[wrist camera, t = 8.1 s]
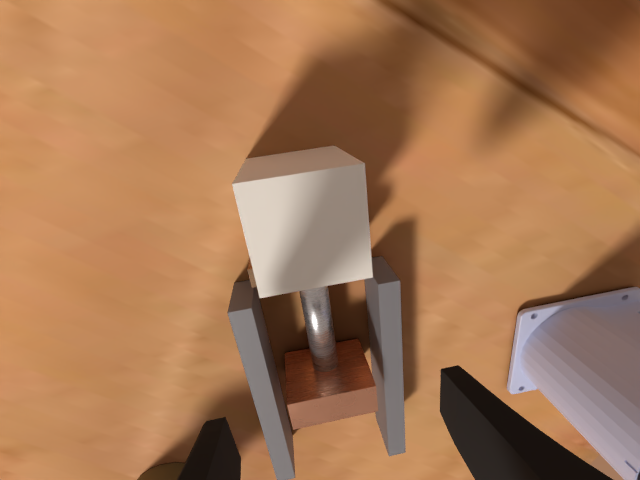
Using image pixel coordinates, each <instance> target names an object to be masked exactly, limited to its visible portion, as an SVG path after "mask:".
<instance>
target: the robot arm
mask: <svg viewBox="0 0 640 480" xmlns="http://www.w3.org/2000/svg"><path fill="white" fill-rule="evenodd" d="M535 389H539V390H540V391H541V392H542V394H543V395H544V396H545V397H546V398H547V399H548V400H549V401H550V402H551V403H552V404H553V405H554V406H555V407H556V408H557V409H558V410H559V411H560V413H561V414H562V415H563V416H564V417H565V418H566V419H567V420H568V421H569V422H570V423H571V424H572V425H573V426H574V427H575V428H576V429H577V430H578V431H579V433H580V434H581V435H582V436H583V437H584V438H585V439H586V440H587V441H588V442H589V443H590V444H591V445H592V446H593V447H594V448H595V449H596V450H597V451H598V453H599V454H600V455H601V456H602V457H603V458H604V459H605V460H606V461H607V462H608V463H609V464H610V465H611V466H612V467H613V468H614V469H615V470H616V471H617V472H618V474H619V475H620V476H622V478H623V479H624V480H640V288H638V287H631V288H626V289H621V290H616V291H611V292H606V293H601V294H596V295H591V296H586V297H581V298H576V299H571V300H566V301H561V302H556V303H551V304H546V305H541V306H536V307H531V308H526V309H523V310H521V311H520V312H519V313H518V316H517V322H516V329H515V336H514V342H513V349H512V356H511V363H510V369H509V376H508V383H507V390H508V391H509V392H510V393H511V394H517V393H521V392H526V391H530V390H535ZM440 413H441V415H442V417H443V420H444V422H445V424H446V426H447V429H448V431H449V433H450V435H451V437H452V439H453V441H454V444H455V445H456V447H457V449H458V451H459V453H460V454H461V456H462V458H463V459H464V461H465V463H466V465H467V466H468V468H469V470H470V472H471V473H472V475H473V477H474V478H475V480H613V479H611V478H610V477H608V476H606V475H605V474H603V473H602V472H600V471H599V470H597V469H596V468H594V467H593V466H591V465H589V464H588V463H586V462H585V461H583V460H582V459H580V458H579V457H577V456H576V455H574V454H573V453H571V452H570V451H569V450H567V449H566V448H564V447H563V446H561V445H560V444H559V443H557V442H556V441H554V440H553V439H551V438H550V437H549V436H547V435H546V434H544V433H543V432H542V431H540V430H539V429H538V428H536V427H535V426H534V425H532V424H531V423H530V422H528V421H527V420H526V419H524V418H523V417H522V416H520V415H519V414H518V413H517V412H515V411H514V410H513V409H511V408H510V407H509V406H508V405H506V404H505V403H504V402H502V401H501V400H500V399H499V398H498V397H496V396H495V395H494V394H493V393H491V392H490V391H489V390H488V389H486V388H485V387H484V386H483V385H482V384H480V383H479V382H478V381H477V380H476V379H474V378H473V377H472V376H471V375H470V374H468V373H467V372H466V371H465V370H464V369H462V368H461V367H460V366H458V365H457V366H453V367H448V368H444V369H441V387H440ZM240 476H241V457H240V455H239V452H238V449H237V447H236V444H235V441H234V438H233V436H232V433H231V430H230V428H229V425H228V422H227V420H226V417H223V418H219V419H214V420H210V421H206V422H205V424H204V425H203V427H202V429H201V431H200V434H199V436H198V438H197V440H196V442H195V444H194V446H193V448H192V450H191V452H190V455H189V457H188V459H187V461H186V463H185V465H184V467H183V469H182V471H181V473H180V475H179V477H178V478H177V480H240Z"/></svg>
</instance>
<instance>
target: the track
mask: <svg viewBox="0 0 640 480" xmlns="http://www.w3.org/2000/svg"><path fill="white" fill-rule="evenodd" d="M372 272H373V278H367V279H365V290H366V303H367V315H368V327H369V339H370V351H371V363H372V375H373V379H374V381H375V384H376V389H377V402H378V411H376V419H377V422H378V425H379V428H380V431H381V434H382V437H383V440H384V443H385V446H386V449H387V452H388V455H389V456H392V455H397V454H401V453H405V421H404V388H403V355H402V323H401V290H400V280H399V278H398V277H397V275H396V274H395V273H394V271H393V270H392V269H391V267H390V266H389V265H388V263H387V262H386V261H385V259H384V258H383V257H382V256H380V257H374V258H372ZM228 316H229V319H230V323H231V326H232V329H233V333H234V336H235V339H236V343H237V346H238V350H239V353H240V356H241V360H242V363H243V367H244V370H245V373H246V377H247V380H248V383H249V387H250V390H251V394H252V397H253V400H254V404H255V407H256V410H257V414H258V417H259V421H260V424H261V427H262V431H263V434H264V437H265V441H266V444H267V448H268V451H269V454H270V458H271V461H272V464H273V468H274V471H275V475H276V478H277V480H288V479H293V478H295V466H294V450H293V435H292V431H291V427H290V423H289V419H288V415H287V411H286V407H285V402H284V398H283V394H282V390H281V386H280V382H279V378H278V374H277V369H276V365H275V361H274V357H273V353H272V349H271V345H270V341H269V336H268V332H267V328H266V324H265V320H264V316H263V312H262V308H261V303H260V299H259V295H258V291H257V287H253V288H252V287H251V283H250V280H247V281H241V282H235V283H234V286H233V291H232V295H231V300H230V304H229V309H228Z"/></svg>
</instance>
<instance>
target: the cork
mask: <svg viewBox="0 0 640 480" xmlns="http://www.w3.org/2000/svg"><path fill="white" fill-rule="evenodd" d="M184 465H185V463H169V464H162V465H159V466H156V467H154V468H151V469H149V470H148V471H146V472H145V473H143V474H142V475H141V476H140V477H139V479H138V480H177V478H178V477H179V475H180V473H181V471H182V469H183V467H184Z"/></svg>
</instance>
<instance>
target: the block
mask: <svg viewBox="0 0 640 480" xmlns="http://www.w3.org/2000/svg"><path fill="white" fill-rule="evenodd" d="M232 186H233V190H234V194H235V198H236V202H237V206H238V211H239V215H240V219H241V223H242V227H243V231H244V235H245V240H246V244H247V248H248V252H249V256H250V260H251V264H252V269H253V273H254V277H255V281H256V285H257V289H258V293H259V298H264V297H270V296H275V295H281V294H286V293H291V292H297V291H302V290H308V289H313V288H319V287H324V286H329V285H335V284H340V283H346V282H351V281H357V280H362V279H367V278H373V272H372V258H371V243H370V229H369V215H368V201H367V186H366V172H365V163H364V162H362V161H360V160H358V159H357V158H355V157H353V156H352V155H350V154H348V153H346V152H345V151H343V150H341V149H340V148H338V147H336V146H327V147H321V148H314V149H307V150H301V151H294V152H287V153H281V154H274V155H267V156H261V157H254V158H247V159H246V160H245V161H244V163H243V165H242V167H241V169H240V170H239V172H238V174H237V176H236V178H235V180H234V181H233V183H232Z"/></svg>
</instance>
